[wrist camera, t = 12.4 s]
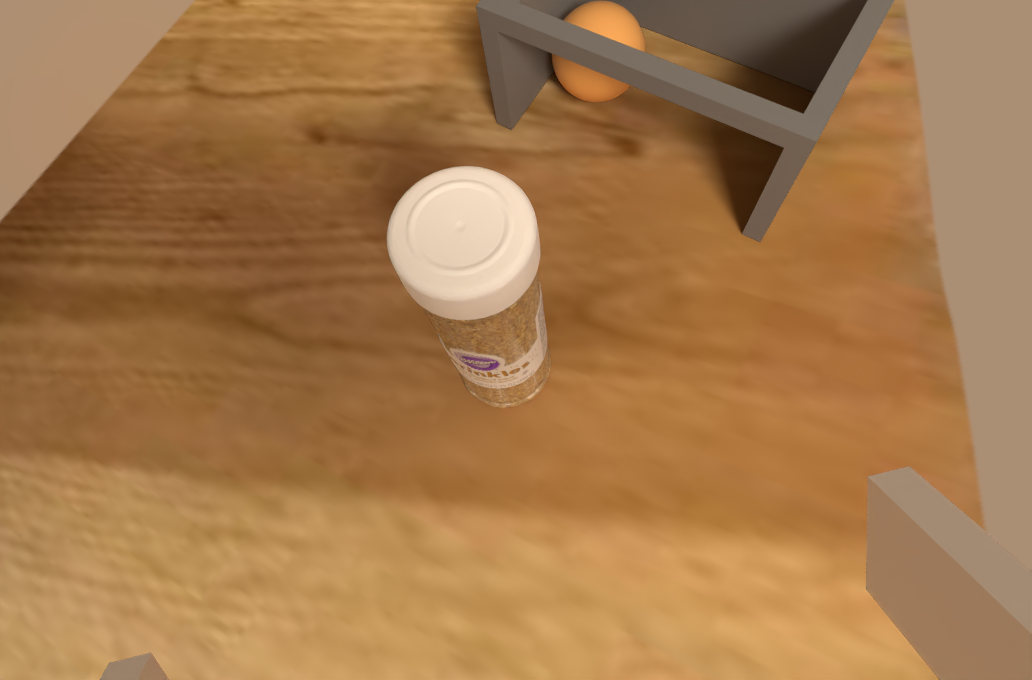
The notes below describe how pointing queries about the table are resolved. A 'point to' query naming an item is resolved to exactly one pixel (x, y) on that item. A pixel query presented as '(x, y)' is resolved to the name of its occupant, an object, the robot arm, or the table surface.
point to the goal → (708, 26)
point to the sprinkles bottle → (476, 278)
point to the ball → (607, 23)
